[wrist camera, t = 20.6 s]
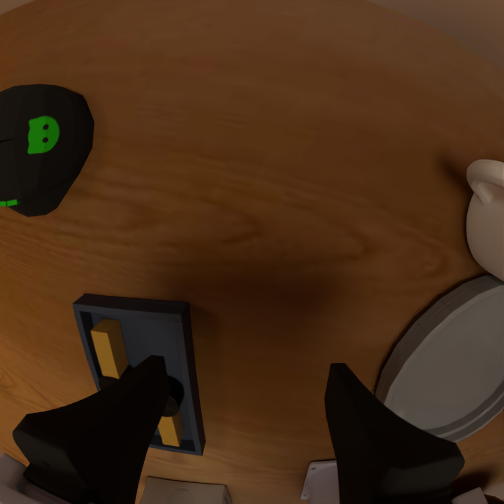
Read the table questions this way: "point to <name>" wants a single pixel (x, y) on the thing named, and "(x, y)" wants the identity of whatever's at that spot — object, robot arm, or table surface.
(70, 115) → the computer mouse
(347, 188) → the table surface
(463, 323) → the round grey plant saucer
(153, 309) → the tray
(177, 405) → the key
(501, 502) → the ball
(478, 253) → the mug
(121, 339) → the key
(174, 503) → the cosmetics box
